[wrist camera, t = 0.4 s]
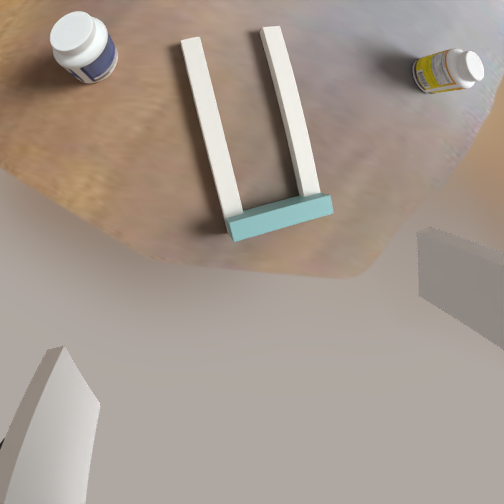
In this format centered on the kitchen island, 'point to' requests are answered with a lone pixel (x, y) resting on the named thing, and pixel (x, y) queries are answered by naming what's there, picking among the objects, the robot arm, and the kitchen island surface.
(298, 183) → the guide track
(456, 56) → the supplement bottle
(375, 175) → the kitchen island surface
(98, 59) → the pill bottle
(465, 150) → the kitchen island surface
